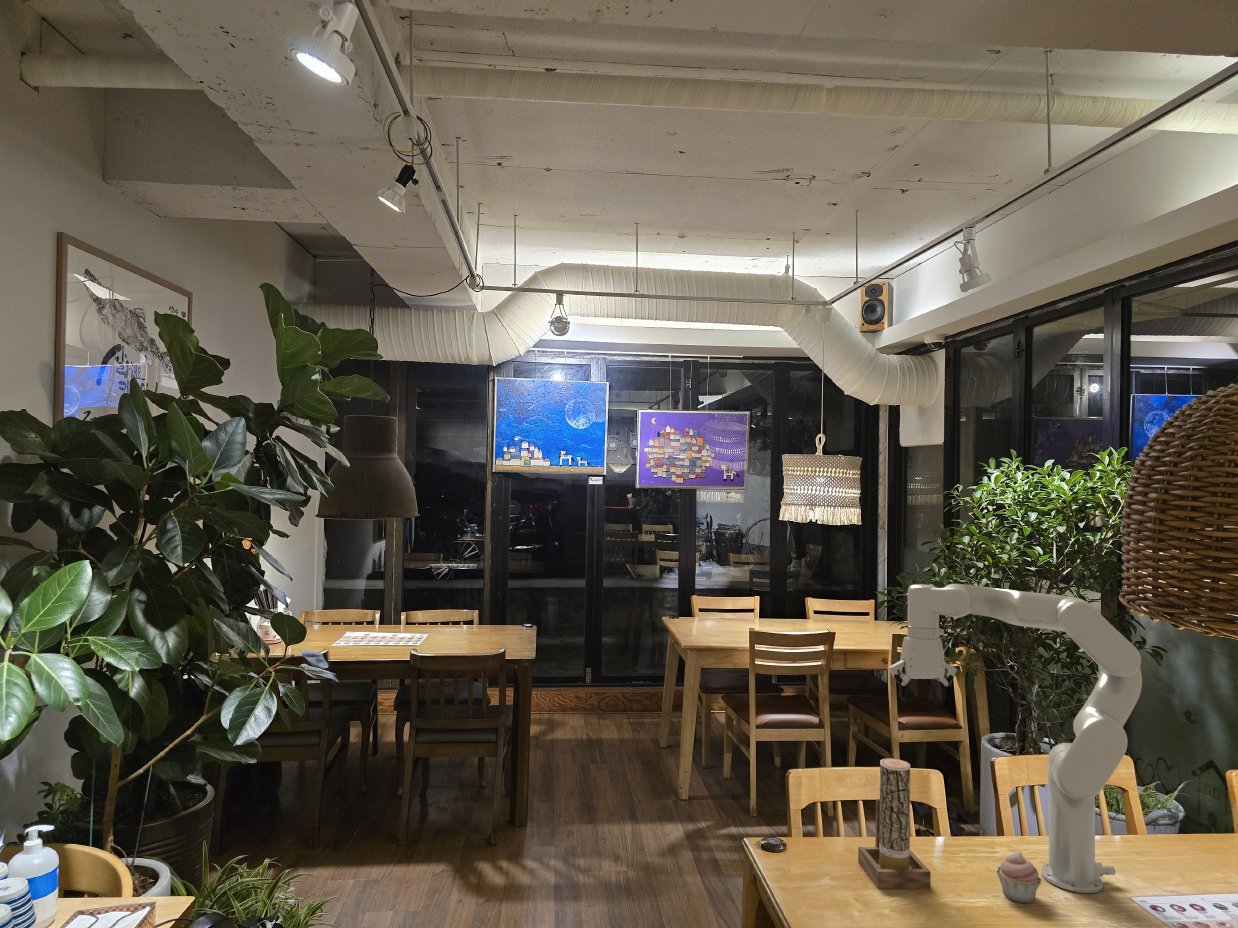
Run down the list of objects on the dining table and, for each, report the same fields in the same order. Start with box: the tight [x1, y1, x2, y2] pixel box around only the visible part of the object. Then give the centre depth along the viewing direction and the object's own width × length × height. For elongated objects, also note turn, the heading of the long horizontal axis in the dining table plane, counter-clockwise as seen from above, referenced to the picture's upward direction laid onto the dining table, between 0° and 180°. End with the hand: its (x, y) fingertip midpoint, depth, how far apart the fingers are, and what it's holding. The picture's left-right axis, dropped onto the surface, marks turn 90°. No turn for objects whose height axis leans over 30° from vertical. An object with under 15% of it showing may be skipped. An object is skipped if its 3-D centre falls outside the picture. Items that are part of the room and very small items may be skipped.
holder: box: [857, 798, 931, 889], centre depth 183 cm, size 12×13×15 cm
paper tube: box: [879, 758, 911, 869], centre depth 183 cm, size 7×7×25 cm
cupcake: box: [995, 850, 1043, 904], centre depth 173 cm, size 9×9×10 cm
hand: (922, 700), depth 195 cm, fingers open, 9 cm apart
